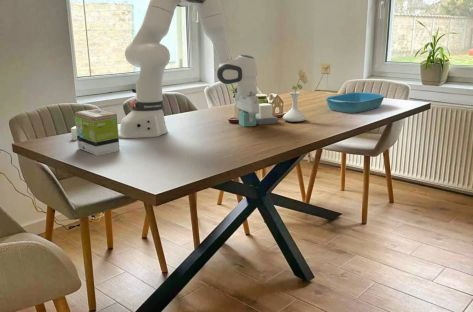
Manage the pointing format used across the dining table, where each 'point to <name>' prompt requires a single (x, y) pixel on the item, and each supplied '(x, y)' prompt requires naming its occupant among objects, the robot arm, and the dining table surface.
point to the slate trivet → (266, 120)
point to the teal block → (246, 119)
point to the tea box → (97, 131)
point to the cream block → (265, 110)
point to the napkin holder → (74, 133)
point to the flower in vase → (294, 112)
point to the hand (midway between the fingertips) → (247, 120)
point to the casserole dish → (354, 101)
